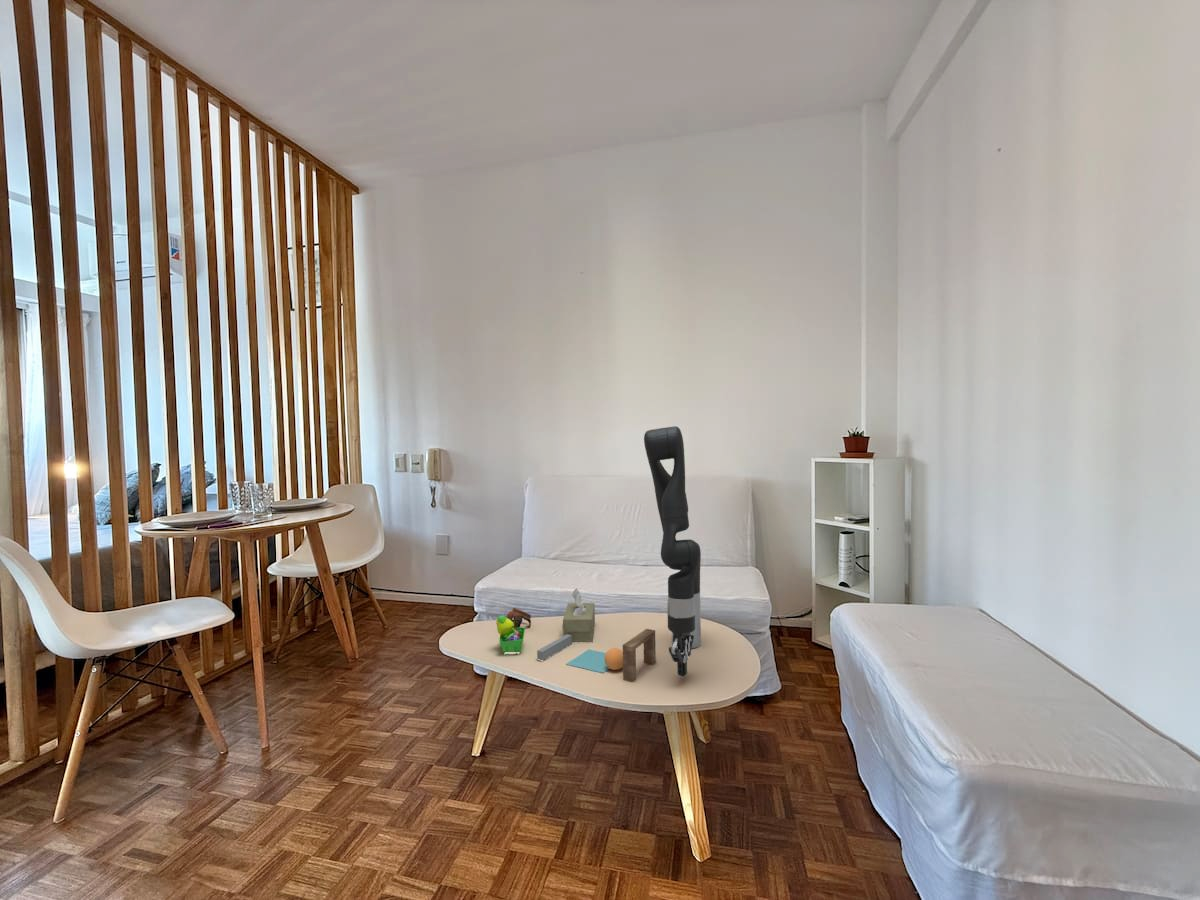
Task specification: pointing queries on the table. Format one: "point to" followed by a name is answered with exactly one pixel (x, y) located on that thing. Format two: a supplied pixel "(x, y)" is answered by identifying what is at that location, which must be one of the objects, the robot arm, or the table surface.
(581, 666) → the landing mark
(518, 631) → the fruit basket
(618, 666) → the orange ball
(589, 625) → the tissue box
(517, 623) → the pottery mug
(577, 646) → the table surface
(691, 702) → the table surface
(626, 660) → the bridge
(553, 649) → the stopper wall
